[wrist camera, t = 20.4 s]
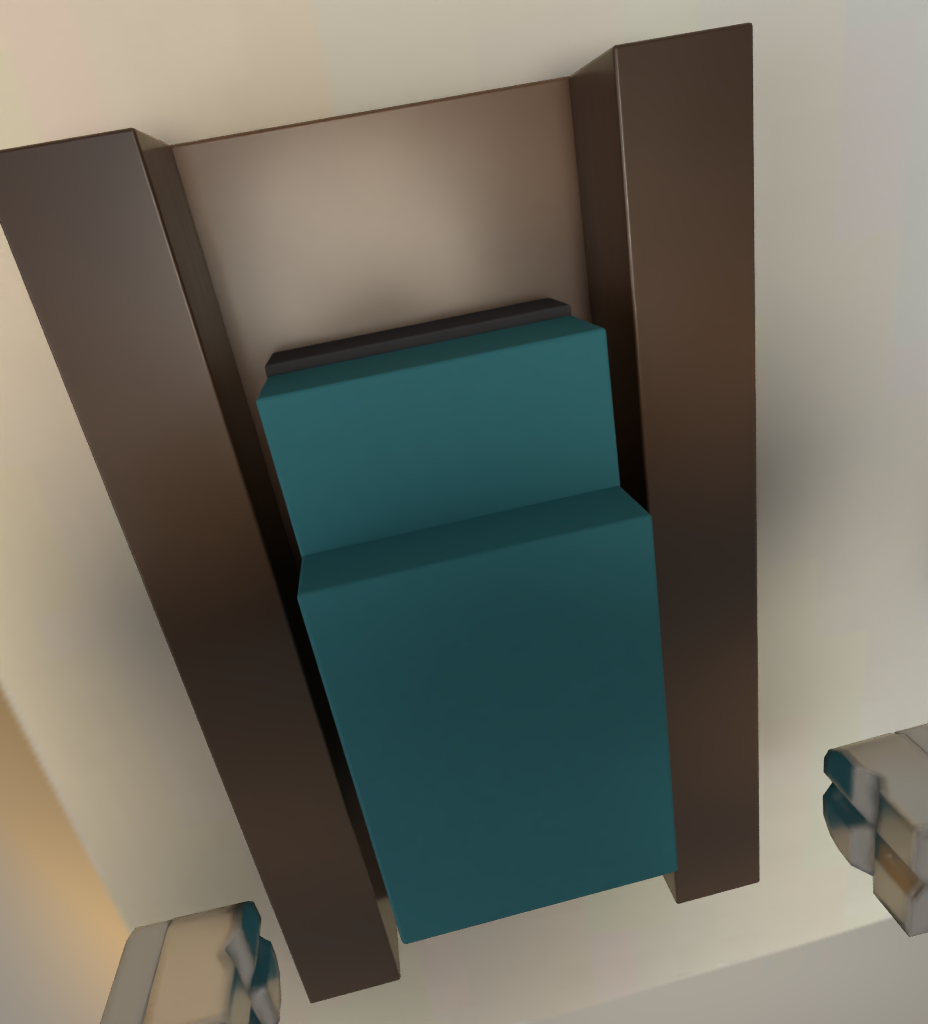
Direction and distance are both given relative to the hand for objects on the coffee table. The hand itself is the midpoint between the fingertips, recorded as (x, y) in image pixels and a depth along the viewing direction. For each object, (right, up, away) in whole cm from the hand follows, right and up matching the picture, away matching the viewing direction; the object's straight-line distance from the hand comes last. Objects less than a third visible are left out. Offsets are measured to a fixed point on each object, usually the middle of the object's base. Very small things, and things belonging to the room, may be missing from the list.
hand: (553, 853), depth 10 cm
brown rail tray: (-1, +4, +9) cm, 10 cm away
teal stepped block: (-1, +3, +7) cm, 8 cm away
